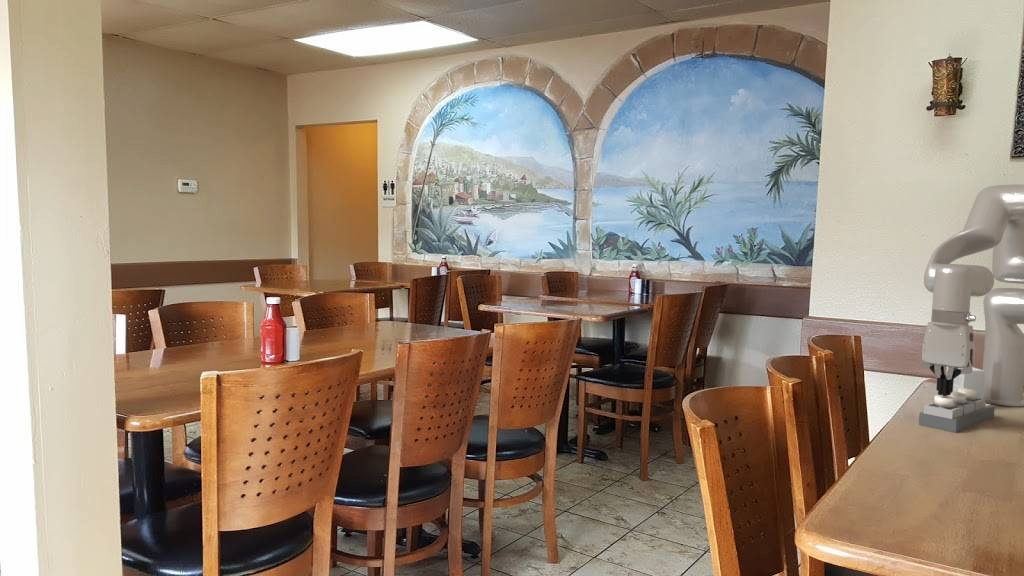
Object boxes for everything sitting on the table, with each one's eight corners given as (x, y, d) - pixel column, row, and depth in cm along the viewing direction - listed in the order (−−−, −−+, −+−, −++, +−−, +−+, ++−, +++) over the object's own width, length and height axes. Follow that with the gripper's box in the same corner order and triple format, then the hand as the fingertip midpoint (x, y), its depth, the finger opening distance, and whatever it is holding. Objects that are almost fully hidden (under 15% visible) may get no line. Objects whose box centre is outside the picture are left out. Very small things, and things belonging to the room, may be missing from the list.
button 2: (961, 395, 180) (961, 387, 180) (979, 398, 177) (979, 390, 176) (954, 397, 177) (955, 389, 177) (972, 400, 174) (973, 392, 174)
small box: (983, 410, 186) (986, 370, 185) (961, 409, 186) (964, 370, 185) (964, 402, 194) (967, 364, 193) (943, 402, 194) (946, 364, 193)
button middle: (949, 398, 175) (950, 390, 175) (967, 401, 172) (968, 393, 172) (943, 400, 173) (943, 392, 173) (961, 404, 170) (962, 396, 170)
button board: (958, 410, 185) (960, 391, 184) (994, 417, 179) (995, 398, 178) (918, 424, 170) (920, 404, 170) (955, 432, 164) (957, 411, 163)
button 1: (938, 402, 171) (938, 394, 171) (956, 405, 168) (956, 397, 168) (931, 404, 169) (931, 396, 169) (949, 408, 166) (950, 399, 165)
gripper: (992, 320, 163) (985, 399, 164) (922, 314, 175) (917, 387, 176) (979, 322, 158) (973, 403, 160) (909, 315, 170) (904, 390, 172)
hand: (944, 394), depth 168 cm, fingers closed
